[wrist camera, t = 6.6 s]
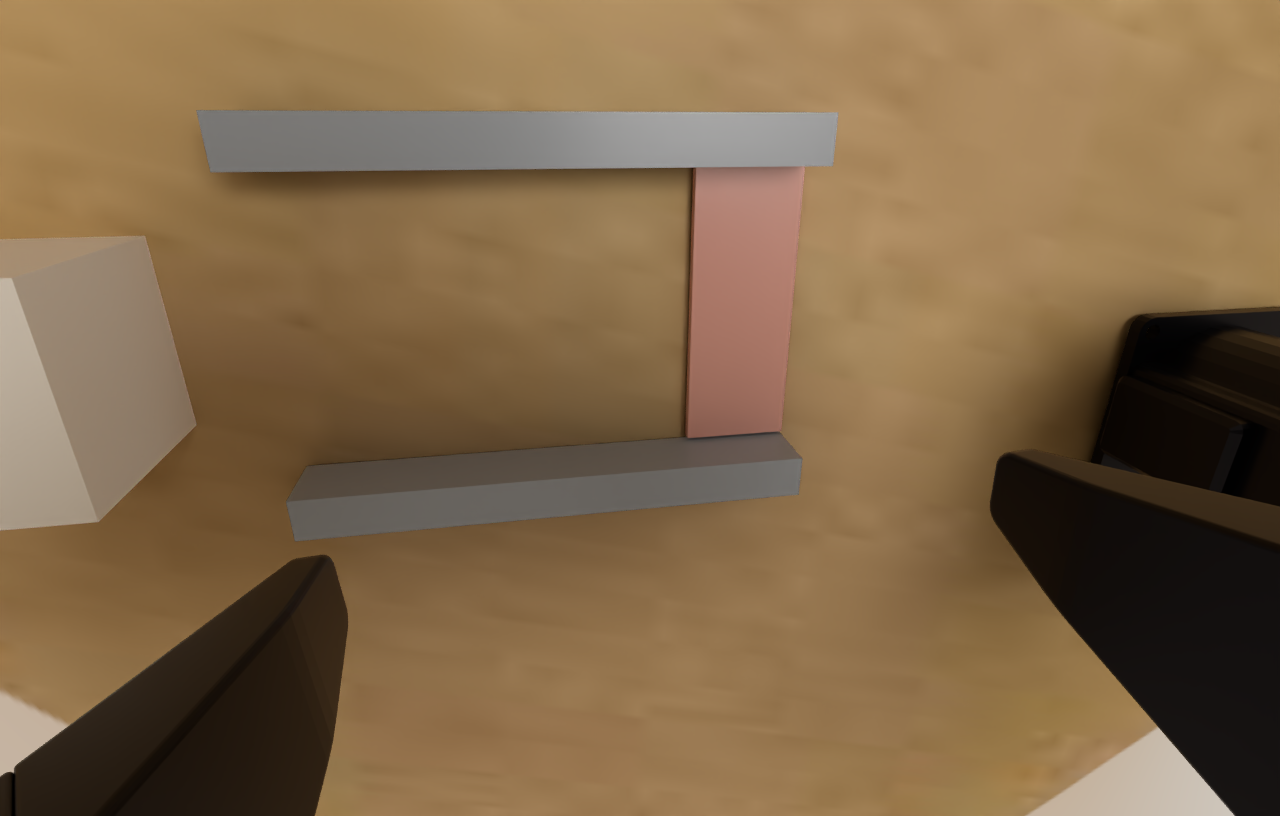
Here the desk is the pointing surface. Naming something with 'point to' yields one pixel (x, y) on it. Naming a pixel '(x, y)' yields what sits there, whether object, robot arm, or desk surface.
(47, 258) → the cream block
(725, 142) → the u-shaped bracket
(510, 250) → the desk surface
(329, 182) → the desk surface
